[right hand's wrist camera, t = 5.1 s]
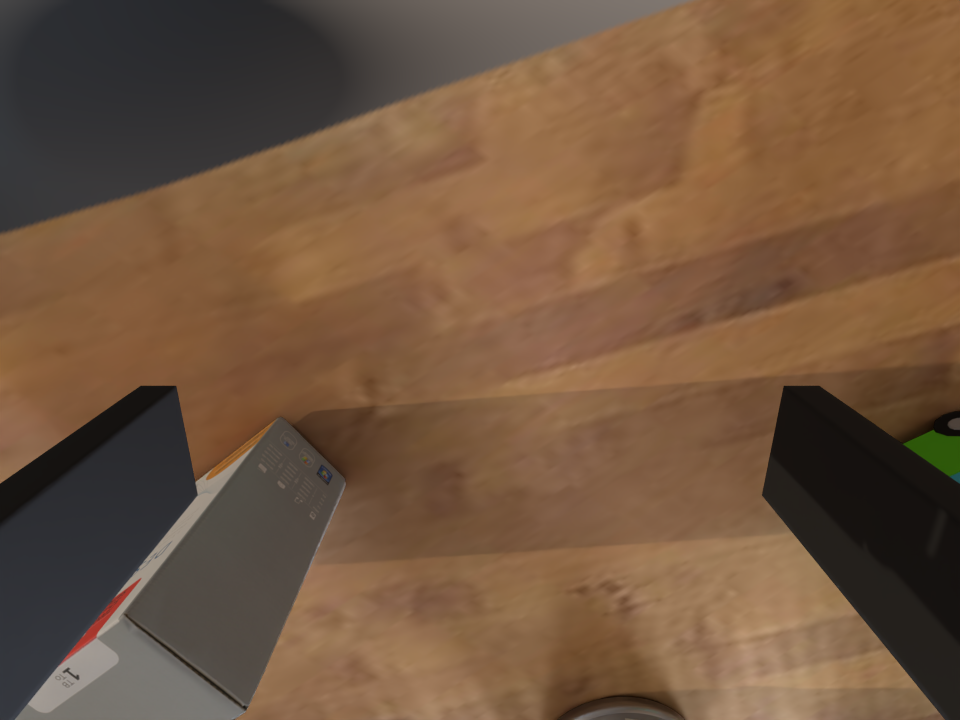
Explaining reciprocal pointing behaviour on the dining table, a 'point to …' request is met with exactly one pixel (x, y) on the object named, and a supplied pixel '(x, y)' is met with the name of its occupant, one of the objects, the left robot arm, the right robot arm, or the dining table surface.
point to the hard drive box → (205, 594)
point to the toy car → (941, 445)
